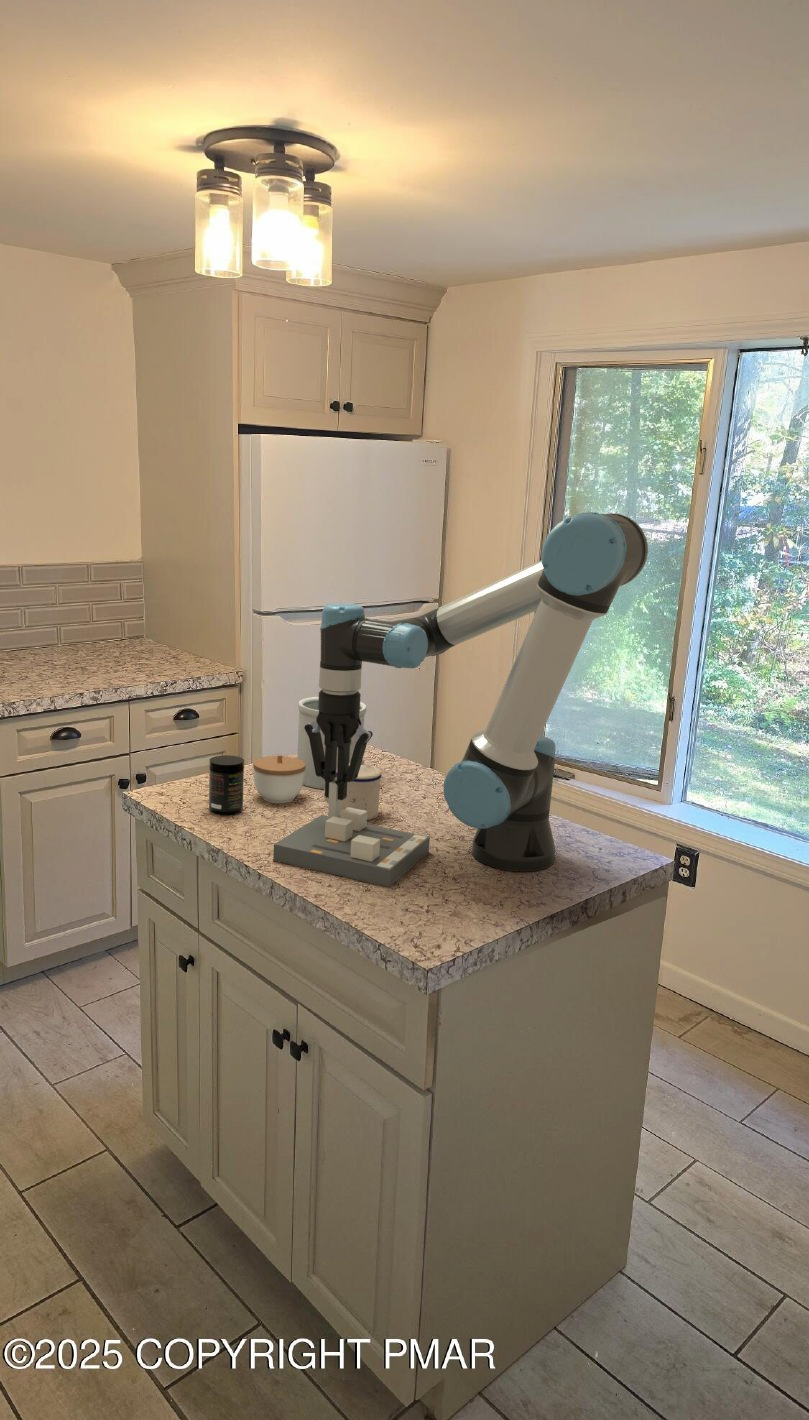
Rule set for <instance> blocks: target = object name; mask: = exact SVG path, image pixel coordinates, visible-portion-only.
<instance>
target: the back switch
mask: <svg viewBox="0 0 809 1420" xmlns="http://www.w3.org/2000/svg"><path fill="white" fill-rule="evenodd" d="M339 818H344V819H348V820H353V830H356V831H361V830H362V829H364V828H365V827H366V826H367V824H368V820H367V811H365V810H360V809H355V808H350V807H347V808H346V809H344V810H342V811H341V813H340V817H339Z"/></svg>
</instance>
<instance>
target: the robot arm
mask: <svg viewBox="0 0 809 1420" xmlns="http://www.w3.org/2000/svg"><path fill="white" fill-rule="evenodd" d="M541 549H542V550H541V559H540V560H539V561H537V562H535V563H533V564H531V565H529V566H525V567H524V568H522V569H520V570H517V571H515V572H513V573H511V574H508V575H507V576H504V577H502V578H499V579H497V580H496V581H493V582H491V583H489V584H487V585H485V586H483V587H481V588H478V589H476V590H474V591H471V592H470V593H468V594H466V595H463V596H460V597H459V598H457V599H454V600H452V601H451V602H448V603H446V604H444V605H442V606H440V607H438V608H435V609H433V610H430V611H429V612H426V613H424V614H422V615H419V616H415V617H411V618H404V619H398V620H397V619H396V620H391V621H390V620H389V621H387V620H377V619H371V618H366V615H365V609H364V607H363V606H362V605H359V604H355V603H345V602H344V603H341V602H340V603H338V602H337V603H335V602H334V603H329V604H326V605H325V606H324V607H323V608H322V611H321V612H322V613H321V615H322V616H321V625H320V628H319V631H320V661H319V676H318V677H319V678H318V687H319V689H321V690H320V691H318V697H319V702H318V709H319V714H318V716H317V718H316V721H314V722H312V723H309V724H307V725H305V727H304V729H305V731H306V733H307V735H308V736H309V740H310V746H311V751H312V757H313V762H314V768H315V773H316V776H318V777H322V778H323V779H324V780H325V797H327V798H329V804H328V805H327V806H328V807H327V808H328V811H327V816H328V817H333V816H334V817H339V815H340V813H341V811H342V800H344V799H345V798H346V797H347V783H348V782H351V781H353V780H355V779H356V778H357V777H358V773H359V770H360V766H361V763H362V759H363V758H364V755H365V752H366V748H367V745H368V743H369V741H370V740H371V738H372V737H373V732H372V731H371V730H366V729H365V727H364V728H363V727H362V726H361V721H360V718H359V713H360V702H361V697H362V696H361V693H360V690H361V689H362V668H363V667H362V666H363V662H365V663H371V664H378V665H383V666H389V667H394V668H396V669H416V668H418V667H420V666H421V663H422V662H424V661H425V658H427V657H435V656H438V655H441V654H444V653H445V652H447V651H448V650H450V649H451V648H453V647H455V646H456V645H459V644H461V643H464V642H466V641H469V640H472V639H474V638H476V637H479V636H480V635H483V634H485V633H487V632H490V631H492V630H494V629H496V628H500V627H501V626H504V625H506V624H508V623H511V622H513V621H516V620H518V619H520V618H523V617H525V616H528V615H530V614H532V613H534V612H535V614H534V615H533V618H532V620H531V623H530V625H529V627H528V630H526V631H527V632H526V634H525V637H524V639H523V641H522V643H521V645H520V648H519V650H518V653H517V655H516V657H515V660H514V662H513V665H512V667H511V668H510V671H509V674H508V676H507V678H506V681H505V683H504V686H503V687H502V690H501V692H500V695H499V697H498V699H497V702H496V704H495V706H494V709H493V711H492V714H491V716H490V718H489V721H488V723H487V725H486V727H485V728H484V729H482V730H479V731H476V732H475V733H473V735H472V737H471V739H470V741H469V744H468V746H467V749H466V750H465V753H464V756H463V758H462V759H461V761H459V762H457V763H455V764H453V765H454V766H452V767H451V769H450V770H449V771H448V772H447V774H446V776H445V777H444V780H443V796H444V800H445V802H446V804H447V806H448V809H449V810H450V812H451V813H452V815H453V816H454V817H455V818H456V819H457V820H458V821H459V822H461V823H462V824H464V825H465V826H468V827H470V828H474V829H477V830H476V831H475V834H474V836H473V838H472V845H471V855H472V856H473V857H474V859H475V860H477V861H478V862H480V863H482V864H484V865H486V866H489V867H492V868H495V869H500V870H503V871H505V870H506V871H511V872H536V871H540V869H541V870H545V869H548V868H549V867H551V866H552V865H553V864H555V860H556V859H555V858H556V845H555V841H554V835H553V832H552V828H551V824H550V813H551V804H552V803H551V801H552V791H553V783H554V772H555V764H556V760H557V757H556V756H557V755H556V744H555V741H554V739H551V738H549V737H547V736H544V735H542V733H543V731H544V729H545V726H546V725H547V722H548V720H549V718H550V716H551V713H552V711H553V709H554V707H555V705H556V702H557V700H558V697H559V695H560V694H561V691H562V690H563V687H564V685H565V682H566V680H567V678H568V676H569V673H570V671H571V669H572V667H573V664H574V663H575V661H576V658H577V657H578V653H579V652H580V650H581V647H582V646H583V644H584V640H585V639H586V636H587V634H588V632H589V630H590V627H591V625H592V623H593V621H594V620H595V619H598V618H601V617H603V616H605V615H606V616H607V614H608V612H609V610H610V608H611V606H612V604H613V601H614V599H615V597H616V595H617V592H618V590H619V588H620V587H621V586H624V585H626V584H629V583H630V582H632V581H633V580H634V579H635V578H637V577H638V575H640V573H641V572H642V570H643V569H644V567H645V565H646V563H647V559H648V556H649V544H648V540H647V537H646V535H645V532H644V530H643V529H642V527H641V526H640V525H639V524H638V523H637V522H636V521H634V520H633V519H632V518H630V517H628V516H626V515H623V514H620V513H598V512H592V511H588V512H581V513H577V514H574V515H572V516H570V517H566V518H565V519H563V520H561V521H560V522H558V523H557V524H556V525H555V526H554V527H553V528H552V529H551V530H550V531H549V533H548V534H547V536H546V538H545V540H544V542H543V545H542V548H541ZM320 729H321V731H322V732H323V734H324V736H325V738H324V744H325V754H324V749H323V743H322V738H321V734H320ZM356 732H357V737H356V738H357V739H358V740H357V742H356V744H355V748H354V751H353V755H352V758H351V762H350V765H349V756H350V745H351V738H352V737H353V736H354V735H355V733H356ZM337 747H338V765H337V775H336V763H337ZM336 777H337V779H335V778H336Z"/></svg>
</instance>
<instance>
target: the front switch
mask: <svg viewBox="0 0 809 1420" xmlns="http://www.w3.org/2000/svg"><path fill="white" fill-rule="evenodd" d="M379 852H380V839H376V838H371V837H367V836H362V835H358V836H357V837H355V838H354V839H352V840H351V856H350V857H353V858H357V859H362V860H366V861H371V862H372V861H373V860H375V859H376V858H377V857H379Z"/></svg>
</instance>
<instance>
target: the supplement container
mask: <svg viewBox="0 0 809 1420" xmlns="http://www.w3.org/2000/svg"><path fill="white" fill-rule="evenodd" d="M208 769H209V771H208V775H209V776H208V778H209V779H208V781H209V782H208V809H209V811H210V813H212V814H214V815H219V816H233V815H237V814H240V813H241V812H242V810H243V808H244V778H245V775H244V774H245V759H244V758H243V757H240V756H236V755H230V754H227V755H224V754H223V755H216V756H212V757H210V758H209V764H208Z"/></svg>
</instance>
